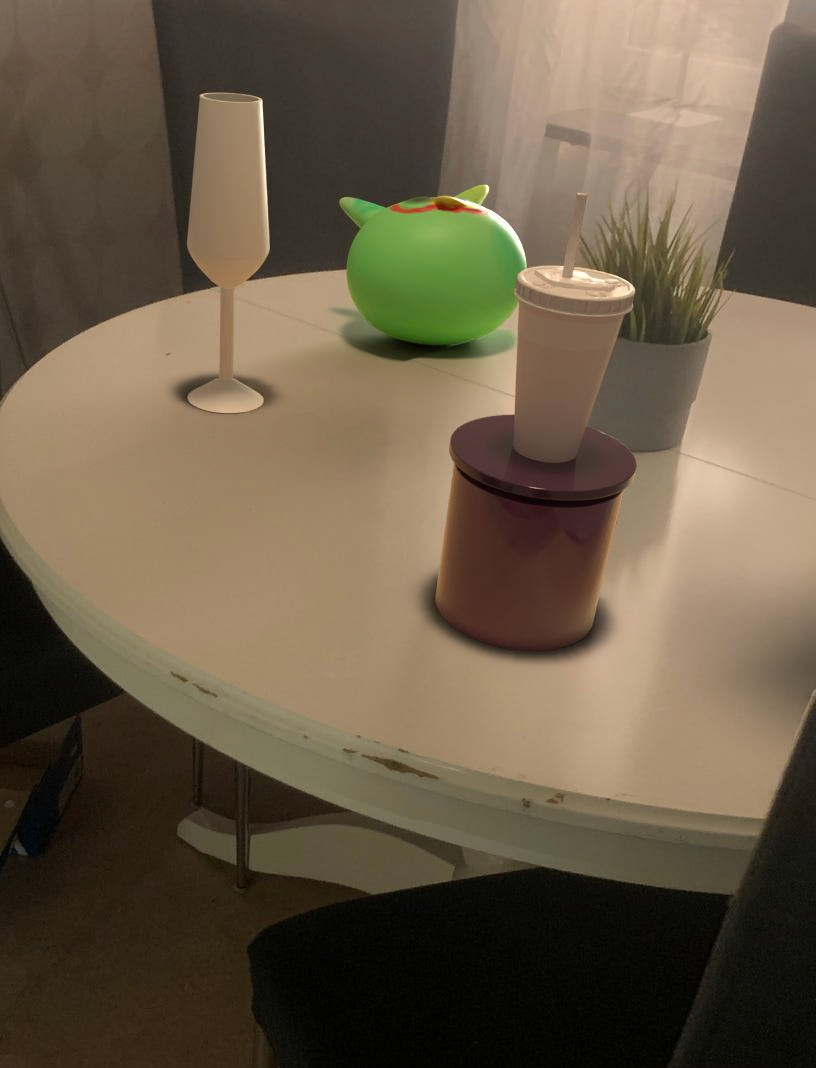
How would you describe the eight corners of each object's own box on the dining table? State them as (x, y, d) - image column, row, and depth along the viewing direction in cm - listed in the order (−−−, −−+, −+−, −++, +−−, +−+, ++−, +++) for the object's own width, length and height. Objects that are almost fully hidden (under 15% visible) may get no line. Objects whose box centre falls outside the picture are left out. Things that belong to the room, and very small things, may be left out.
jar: (494, 554, 77) (520, 401, 71) (630, 618, 71) (671, 456, 65) (393, 608, 70) (412, 443, 64) (534, 683, 64) (570, 509, 58)
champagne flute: (240, 380, 102) (247, 90, 89) (278, 406, 97) (291, 104, 84) (173, 391, 98) (171, 91, 85) (209, 418, 94) (212, 105, 81)
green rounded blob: (363, 368, 107) (377, 207, 99) (323, 313, 120) (333, 168, 112) (537, 365, 111) (565, 211, 103) (480, 312, 125) (500, 172, 117)
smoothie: (514, 419, 68) (555, 177, 61) (615, 446, 66) (670, 197, 58) (472, 452, 64) (510, 194, 56) (579, 483, 61) (634, 217, 54)
